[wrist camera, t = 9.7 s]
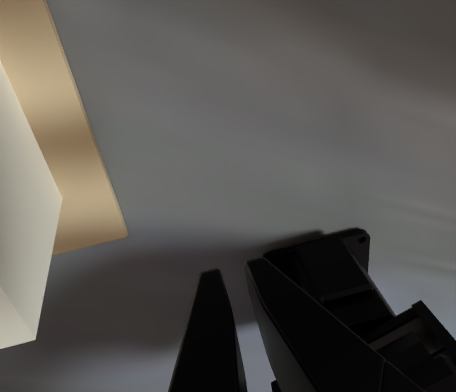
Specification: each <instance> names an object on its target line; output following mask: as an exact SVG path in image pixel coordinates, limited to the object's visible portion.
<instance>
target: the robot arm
mask: <svg viewBox="0 0 456 392" xmlns="http://www.w3.org/2000/svg"><path fill="white" fill-rule="evenodd" d="M360 237H362V238H360ZM359 238H360V239H359ZM369 246H370V236H369V234H368V233H367V232H366V231H365V230H364V229H359V230H355V231H351V232H347V233H343V234H339V235H335V236H331V237H327V238H323V239H319V240H315V241H311V242H307V243H303V244H299V245H295V246H291V247H287V248H283V249H279V250H275V251H271V252H268V253H266V254H265V255H264V256H263V257H259V258H255V259H251V260H247V261H246V262H245V272H246V278H247V284H248V290H249V294H250V298H251V302H252V305H253V309H254V312H255V315H256V319H257V322H258V326H259V329H260V333H261V336H262V339H263V343H264V346H265V350H266V353H267V356H268V359H269V362H270V365H271V368H272V370H273V373H274V375H275V378H276V380H275V381H273V382H271V386H272V392H456V340H455V339H454V338H453V337H452V336H451V335H450V333H449V332H448V331H447V330H446V329H445V328H444V326H443V325H442V324H441V323H440V322H439V320H438V319H437V318H436V317H435V316H434V315H433V313H432V312H431V311H430V310H429V309H428V308H427V306H426V305H425V304H424V303H423V302H422V301H421V300H420V301H418V302H416V303H415V304H413V305H411V306H412V307H411V308H410V309H408V310H406V311H404V312H402V313H400V314H399V315H397V316H396V315H395V314H394V312H393V311H392V309H391V308H390V306H389V305H388V303H387V302H386V300H385V299H384V297H383V296H382V294H381V293H380V291H379V290H378V288H377V287H376V285H375V284H374V282H373V281H372V279H371V278H370V276H369V275H368V262H369ZM273 259H274V260H273ZM270 260H273V261H270ZM168 392H247V385H246V378H245V372H244V367H243V362H242V357H241V352H240V347H239V342H238V337H237V332H236V327H235V322H234V317H233V313H232V308H231V305H230V301H229V298H228V294H227V291H226V288H225V284H224V281H223V277H222V274H221V271H220V269H219V268H215V269H211V270H207V271H203V272H201V273H200V275H199V278H198V282H197V286H196V290H195V293H194V297H193V301H192V304H191V308H190V312H189V316H188V319H187V323H186V327H185V330H184V334H183V338H182V342H181V345H180V349H179V353H178V356H177V360H176V364H175V368H174V371H173V375H172V379H171V382H170V386H169V390H168Z"/></svg>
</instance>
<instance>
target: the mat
mask: <svg viewBox="0 0 456 392" xmlns="http://www.w3.org/2000/svg"><path fill="white" fill-rule="evenodd" d="M0 61H1V63H2V65H3V67H4V70H5V72H6V74H7V76H8V79H9V81H10V83H11V85H12V87H13V90H14V92H15V94H16V96H17V99H18V101H19V103H20V105H21V108H22V110H23V112H24V114H25V116H26V119H27V121H28V123H29V125H30V128H31V130H32V132H33V134H34V137H35V139H36V141H37V143H38V145H39V148H40V150H41V152H42V154H43V157H44V159H45V161H46V163H47V166H48V168H49V170H50V172H51V174H52V177H53V179H54V181H55V183H56V186H57V188H58V190H59V192H60V195H61V197H62V204H61V209H60V214H59V220H58V225H57V230H56V235H55V240H54V246H53V251H52V255H56V254H60V253H65V252H69V251H73V250H77V249H81V248H85V247H89V246H94V245H98V244H102V243H106V242H110V241H114V240H119V239H123V238H127V237H128V230H127V227H126V224H125V222H124V219H123V216H122V213H121V210H120V207H119V205H118V202H117V199H116V196H115V193H114V191H113V188H112V185H111V182H110V179H109V177H108V174H107V171H106V168H105V165H104V163H103V160H102V157H101V154H100V151H99V148H98V146H97V143H96V140H95V137H94V134H93V132H92V129H91V126H90V123H89V120H88V118H87V115H86V112H85V109H84V106H83V104H82V101H81V98H80V95H79V92H78V89H77V87H76V84H75V81H74V78H73V75H72V73H71V70H70V67H69V64H68V61H67V59H66V56H65V53H64V50H63V47H62V45H61V42H60V39H59V36H58V33H57V30H56V28H55V25H54V22H53V19H52V16H51V14H50V11H49V8H48V5H47V2H46V0H0Z"/></svg>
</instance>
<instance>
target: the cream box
mask: <svg viewBox="0 0 456 392" xmlns="http://www.w3.org/2000/svg"><path fill="white" fill-rule="evenodd" d="M61 204H62V197H61V195H60V192H59V190H58V188H57V186H56V183H55V181H54V179H53V177H52V174H51V172H50V170H49V168H48V166H47V163H46V161H45V159H44V157H43V154H42V152H41V150H40V148H39V145H38V143H37V141H36V139H35V137H34V134H33V132H32V130H31V128H30V125H29V123H28V121H27V119H26V116H25V114H24V112H23V110H22V108H21V105H20V103H19V101H18V99H17V96H16V94H15V92H14V90H13V87H12V85H11V83H10V81H9V79H8V76H7V74H6V72H5V70H4V67H3V65H2V63H1V61H0V349H2V348H6V347H10V346H14V345H18V344H22V343H26V342H29V341H33V340H36V334H37V329H38V324H39V319H40V314H41V308H42V303H43V298H44V293H45V287H46V282H47V277H48V272H49V267H50V261H51V256H52V251H53V246H54V240H55V235H56V230H57V225H58V220H59V214H60V209H61Z"/></svg>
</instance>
